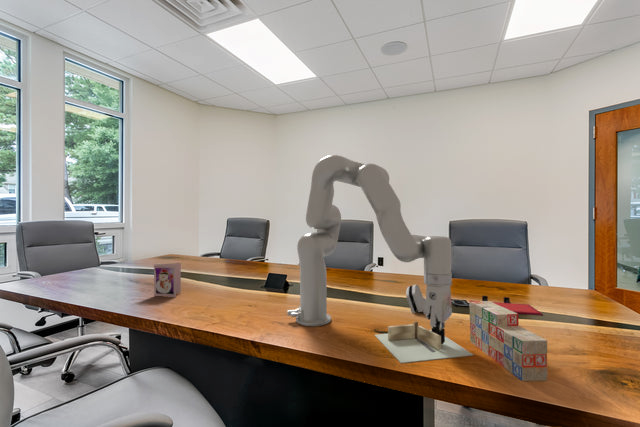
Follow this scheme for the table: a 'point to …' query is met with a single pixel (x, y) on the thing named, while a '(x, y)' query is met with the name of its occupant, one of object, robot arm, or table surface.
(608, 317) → the table surface
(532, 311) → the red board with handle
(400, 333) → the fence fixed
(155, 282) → the greeting card
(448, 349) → the card
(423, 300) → the grey piece
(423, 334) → the panel
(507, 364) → the stack of blocks
